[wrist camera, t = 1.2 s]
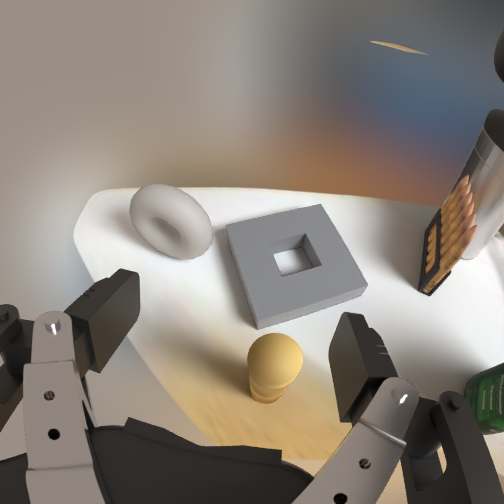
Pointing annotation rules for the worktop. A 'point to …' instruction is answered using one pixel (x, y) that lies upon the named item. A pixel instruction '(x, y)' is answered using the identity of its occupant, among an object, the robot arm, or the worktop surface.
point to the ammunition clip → (447, 238)
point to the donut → (171, 221)
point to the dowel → (273, 366)
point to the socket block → (298, 284)
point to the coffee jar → (487, 399)
